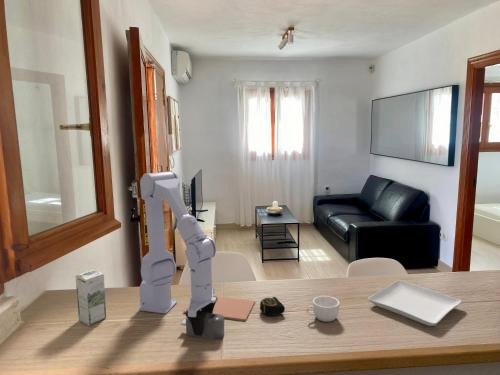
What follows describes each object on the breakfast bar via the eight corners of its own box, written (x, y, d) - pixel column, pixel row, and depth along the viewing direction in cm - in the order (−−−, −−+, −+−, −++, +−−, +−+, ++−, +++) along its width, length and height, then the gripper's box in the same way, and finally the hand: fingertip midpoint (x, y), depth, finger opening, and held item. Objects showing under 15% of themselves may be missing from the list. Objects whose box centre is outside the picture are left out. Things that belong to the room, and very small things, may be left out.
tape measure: (285, 316, 109) (285, 304, 109) (264, 319, 107) (264, 308, 107) (277, 306, 116) (277, 295, 115) (257, 309, 114) (257, 298, 113)
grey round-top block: (179, 334, 99) (179, 317, 99) (186, 326, 104) (185, 310, 103) (221, 340, 96) (221, 323, 96) (226, 331, 101) (226, 315, 100)
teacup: (332, 310, 112) (332, 294, 111) (343, 323, 105) (344, 306, 104) (302, 314, 110) (302, 297, 109) (311, 327, 103) (311, 309, 102)
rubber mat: (183, 313, 111) (183, 311, 111) (198, 296, 123) (198, 294, 123) (245, 321, 106) (245, 319, 106) (255, 302, 118) (255, 300, 118)
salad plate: (434, 334, 99) (435, 323, 99) (365, 307, 115) (366, 297, 115) (462, 309, 113) (463, 299, 113) (397, 288, 129) (398, 279, 128)
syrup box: (96, 312, 112) (92, 268, 109) (107, 318, 108) (103, 272, 106) (78, 320, 107) (74, 274, 105) (89, 326, 104) (85, 279, 102)
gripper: (205, 295, 90) (206, 345, 92) (223, 273, 104) (224, 317, 106) (179, 292, 92) (181, 341, 94) (201, 271, 105) (202, 314, 108)
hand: (202, 328), depth 100 cm, fingers open, 6 cm apart
